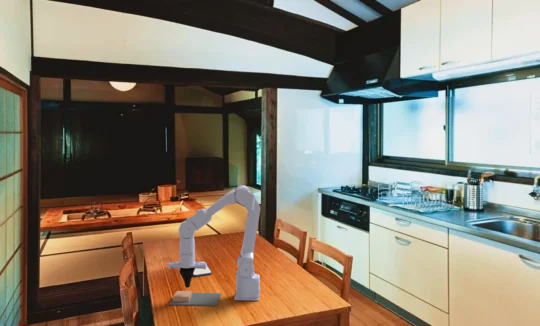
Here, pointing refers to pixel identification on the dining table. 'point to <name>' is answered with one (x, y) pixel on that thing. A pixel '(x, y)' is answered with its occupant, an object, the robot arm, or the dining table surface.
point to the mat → (201, 300)
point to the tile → (182, 296)
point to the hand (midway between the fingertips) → (187, 286)
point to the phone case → (202, 272)
